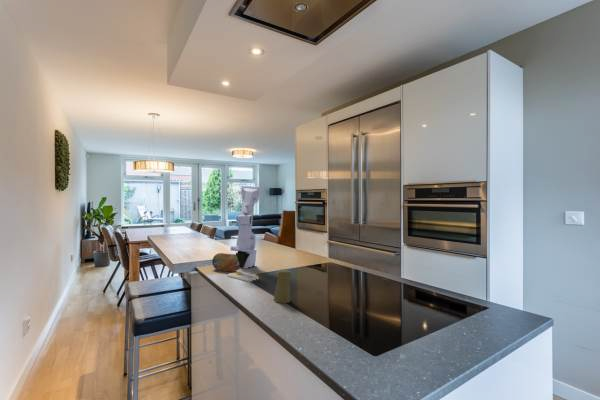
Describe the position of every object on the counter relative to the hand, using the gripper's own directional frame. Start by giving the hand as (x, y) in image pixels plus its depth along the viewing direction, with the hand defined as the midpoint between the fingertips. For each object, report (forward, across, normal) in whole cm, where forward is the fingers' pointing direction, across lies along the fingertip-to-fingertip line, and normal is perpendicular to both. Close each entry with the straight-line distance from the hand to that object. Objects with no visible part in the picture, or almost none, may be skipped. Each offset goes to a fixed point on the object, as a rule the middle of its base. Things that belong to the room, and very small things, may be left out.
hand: (241, 267), depth 145 cm
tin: (+3, -9, -1) cm, 9 cm away
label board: (+3, +6, -6) cm, 9 cm away
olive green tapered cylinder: (+3, +37, -21) cm, 43 cm away
